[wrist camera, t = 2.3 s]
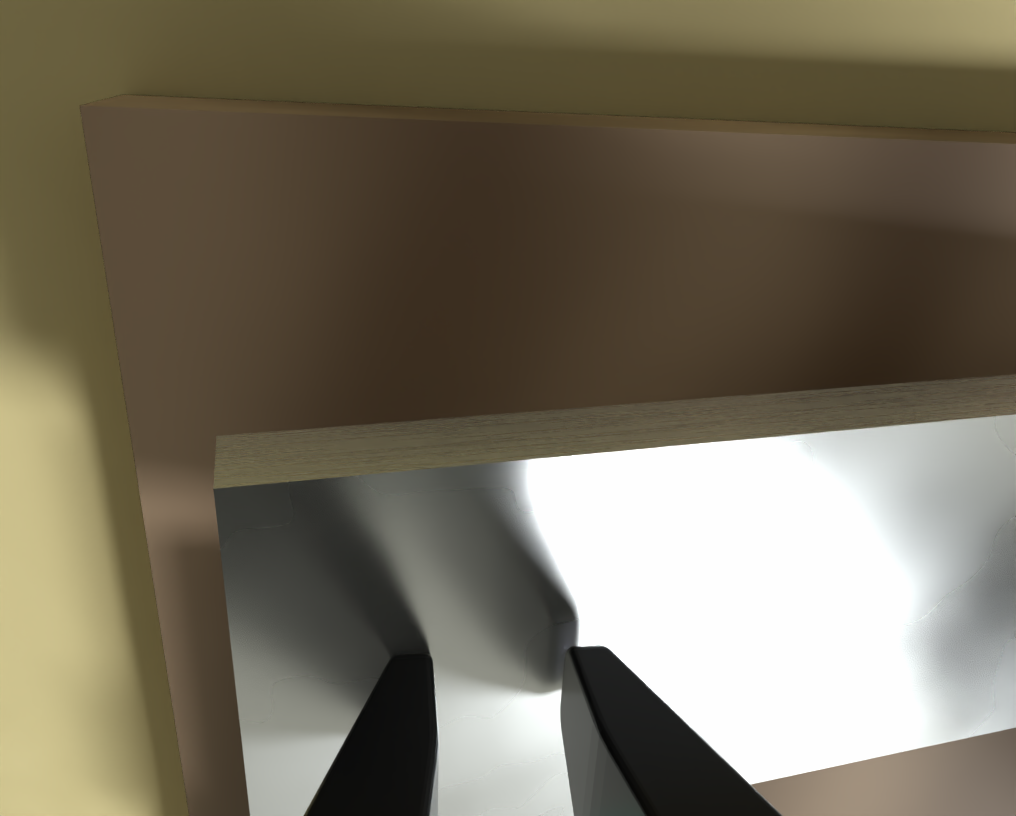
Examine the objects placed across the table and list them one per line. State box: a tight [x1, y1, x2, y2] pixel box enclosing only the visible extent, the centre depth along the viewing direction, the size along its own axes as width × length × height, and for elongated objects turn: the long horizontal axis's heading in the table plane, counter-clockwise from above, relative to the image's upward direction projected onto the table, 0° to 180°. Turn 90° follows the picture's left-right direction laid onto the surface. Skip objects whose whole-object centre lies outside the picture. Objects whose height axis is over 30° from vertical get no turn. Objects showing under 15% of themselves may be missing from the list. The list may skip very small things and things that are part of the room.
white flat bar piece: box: [213, 374, 1016, 816], centre depth 11 cm, size 17×5×1 cm, turn 87°
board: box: [80, 95, 1016, 816], centre depth 14 cm, size 20×17×4 cm
